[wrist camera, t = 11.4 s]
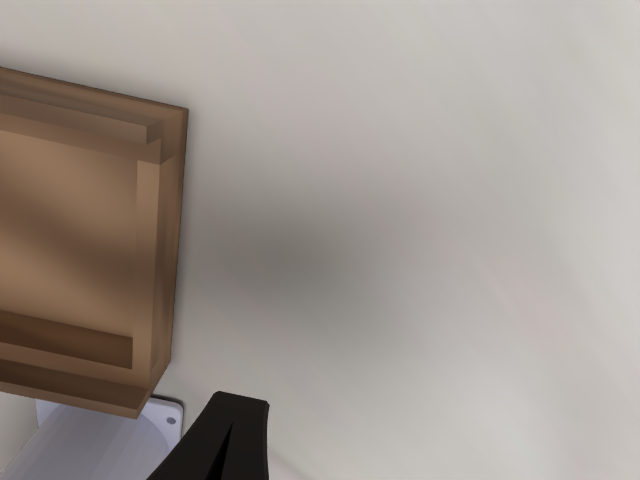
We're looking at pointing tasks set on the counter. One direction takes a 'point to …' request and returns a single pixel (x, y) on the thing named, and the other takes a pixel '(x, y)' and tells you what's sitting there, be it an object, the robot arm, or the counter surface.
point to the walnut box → (87, 242)
